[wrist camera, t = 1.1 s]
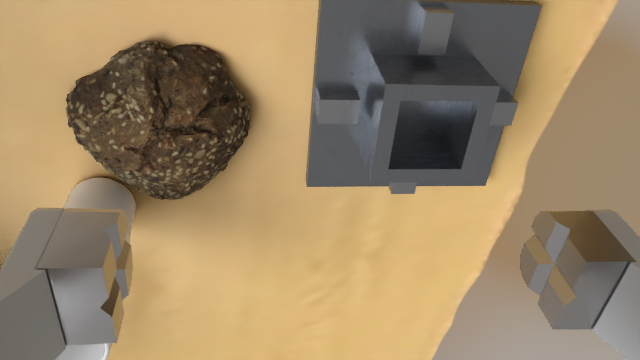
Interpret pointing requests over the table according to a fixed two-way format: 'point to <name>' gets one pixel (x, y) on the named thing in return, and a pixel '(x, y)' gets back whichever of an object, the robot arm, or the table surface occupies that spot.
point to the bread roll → (160, 117)
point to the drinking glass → (119, 197)
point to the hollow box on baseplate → (414, 90)
